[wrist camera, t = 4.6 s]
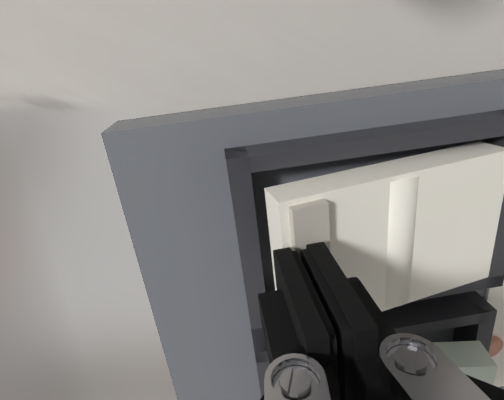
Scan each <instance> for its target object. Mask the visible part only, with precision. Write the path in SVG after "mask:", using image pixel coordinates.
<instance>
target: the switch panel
mask: <svg viewBox="0 0 504 400" xmlns="http://www.w3.org/2000/svg"><path fill="white" fill-rule="evenodd" d="M101 135H102V138H103V142H104V145H105V149H106V152H107V156H108V159H109V162H110V166H111V169H112V173H113V176H114V180H115V183H116V187H117V190H118V194H119V197H120V200H121V204H122V208H123V211H124V215H125V218H126V221H127V225H128V228H129V232H130V235H131V239H132V242H133V246H134V249H135V253H136V256H137V259H138V263H139V267H140V270H141V274H142V277H143V281H144V284H145V287H146V291H147V294H148V298H149V301H150V305H151V308H152V312H153V315H154V319H155V322H156V326H157V329H158V333H159V336H160V340H161V343H162V347H163V350H164V353H165V357H166V360H167V364H168V367H169V371H170V374H171V378H172V381H173V385H174V388H175V392H176V395H177V399H178V400H260V399H261V397H262V396H263V395H264V378H265V372H266V370H267V368H268V366H269V365H270V363H269V359H268V354H267V349H266V344H265V340H264V334H263V329H262V323H261V317H260V310H259V302H258V294H259V293H265V292H270V291H275V284H274V274H273V265H272V256H271V246H270V237H269V228H268V219H267V209H266V200H265V191H264V188H267V187H271V186H276V185H281V184H285V183H290V182H294V181H299V180H303V179H308V178H313V177H317V176H322V175H326V174H331V173H336V172H340V171H345V170H349V169H354V168H359V167H363V166H368V165H372V164H377V163H381V162H386V161H391V160H395V159H400V158H404V157H409V156H414V155H418V154H423V153H427V152H432V151H437V150H441V149H446V148H450V147H455V146H459V145H464V144H469V143H473V142H478V141H480V142H484V143H488V144H492V145H497V146H501V147H504V69H501V70H494V71H487V72H479V73H472V74H464V75H457V76H449V77H442V78H434V79H427V80H419V81H412V82H404V83H397V84H390V85H382V86H375V87H367V88H360V89H352V90H345V91H337V92H330V93H322V94H315V95H307V96H300V97H293V98H285V99H278V100H270V101H263V102H255V103H248V104H240V105H233V106H225V107H218V108H211V109H203V110H196V111H188V112H181V113H173V114H166V115H158V116H151V117H143V118H136V119H129V120H121V121H117V122H116V123H114V124H113V125H112V126H110V127H109V128H108V129H106V130H105V131H104V132H102V133H101ZM382 313H383V314H384V316H385V317H386V319H387V320H388V322H389V323H390V325H391V326H392V327H393V329H394V330H395V332H396V333H397V334H398V333H410V334H414V335H418V336H421V337H423V338H425V339H427V340H429V341H430V342H457V341H480V342H481V343H482V345H483V346H484V347H485V349H486V350H487V352H488V353H489V355H490V356H491V358H492V359H493V360H494V362H495V363H496V365H497V371H496V375H495V380H494V384H493V385H494V386H496V387H499V388H501V389H504V196H503V201H502V207H501V212H500V217H499V223H498V228H497V233H496V239H495V244H494V249H493V255H492V260H491V265H490V271H489V276H488V277H487V278H484V279H481V280H478V281H475V282H472V283H469V284H465V285H462V286H459V287H456V288H453V289H450V290H447V291H444V292H441V293H438V294H435V295H432V296H428V297H425V298H422V299H419V300H416V301H413V302H410V303H407V304H404V305H401V306H398V307H394V308H391V309H388V310H385V311H382Z"/></svg>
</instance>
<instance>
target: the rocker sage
mask: <svg viewBox="0 0 504 400" xmlns="http://www.w3.org/2000/svg"><path fill="white" fill-rule="evenodd" d="M432 343H433V344H434V345H436V346H437V347H438V348H439V349H440V350H441V351H442V352H443V353H444V354H445V355H446V356H447V357H448V358H449V359H450V360H451V361H452V362H453V363H454V364H455V365H456V366H457V367H458V368H459V369H460V370H461V371H462V372H463V373H464V374H466V375H469V376H471V377H474V378H476V379H479V380H481V381H484V382H486V383H489V384H491V385H493V384H494V380H495V375H496V371H497V365H496V363H495V362H494V360H493V359H492V358H491V356H490V355H489V353H488V352H487V350H486V349H485V347H484V346H483V345H482V343H481V342H480V341H457V342H432Z"/></svg>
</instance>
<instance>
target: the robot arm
mask: <svg viewBox="0 0 504 400" xmlns="http://www.w3.org/2000/svg"><path fill="white" fill-rule="evenodd" d="M273 258H274V268H275V277H276V287H277V290H276V291H270V292H265V293H259V294H258V302H259V310H260V317H261V323H262V329H263V334H264V340H265V344H266V349H267V354H268V359H269V363H270V365H269V366H268V368H267V370H266V372H265V378H264V395H263V396H262V397H261V399H260V400H504V389H501V388H499V387H496V386H494V385H491V384H489V383H486V382H484V381H481V380H479V379H476V378H474V377H471V376H469V375H466V374H464V373H463V372H462V371H461V370H460V369H459V368H458V367H457V366H456V365H455V364H454V363H453V362H452V361H451V360H450V359H449V358H448V357H447V356H446V355H445V354H444V353H443V352H442V351H441V350H440V349H439V348H438V347H437V346H436V345H434V344H433V343H432V342H430V341H429V340H427V339H425V338H423V337H421V336H418V335H414V334H410V333H398V334H397V333H396V332H395V330H394V329H393V327H392V326H391V325H390V323H389V322H388V320H387V319H386V317H385V316H384V314H383V313H382V311H381V310H380V309H379V307H378V306H377V304H376V303H375V301H374V300H373V298H372V297H371V296H370V294H369V293H368V291H367V290H366V288H365V287H364V285H363V284H362V282H361V281H360V280H359V279H358V278H357V277H351V278H347V277H346V276H345V274H344V273H343V271H342V270H341V268H340V266H339V265H338V263H337V262H336V260H335V259H334V257H333V255H332V254H331V252H330V251H329V249H328V248H327V246H326V244H325V243H324V242H318V243H312V244H307V245H306V249H303V250H301V258H300V256H299V254H298V252H297V251H291V249H290V247H288V248H282V249H276V250H273Z"/></svg>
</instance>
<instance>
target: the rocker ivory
mask: <svg viewBox="0 0 504 400" xmlns="http://www.w3.org/2000/svg"><path fill="white" fill-rule="evenodd" d="M264 191H265V200H266V209H267V219H268V228H269V237H270V246H271V256H272V265H273V274H274V284H275V291H276V290H277V287H276V277H275V268H274V258H273V250H276V249H282V248H288V247H290V249H291V251H297V252H298V254H299V256H300V258H301V250H303V249H306V245H307V244H312V243H318V242H324V243H325V244H326V246H327V248H328V249H329V251H330V252H331V254H332V255H333V257H334V259H335V260H336V262H337V263H338V265H339V266H340V268H341V270H342V271H343V273H344V274H345V276H346V277H347V278H351V277H357V278H358V279H359V280H360V281H361V282H362V284H363V285H364V287H365V288H366V290H367V291H368V293H369V294H370V296H371V297H372V298H373V300H374V301H375V303H376V304H377V306H378V307H379V309H380V310H381V311H385V310H388V309H391V308H394V307H398V306H401V305H404V304H407V303H410V302H413V301H416V300H419V299H422V298H425V297H428V296H432V295H435V294H438V293H441V292H444V291H447V290H450V289H453V288H456V287H459V286H462V285H465V284H469V283H472V282H475V281H478V280H481V279H484V278H487V277H488V276H489V271H490V265H491V260H492V255H493V249H494V244H495V239H496V233H497V228H498V223H499V217H500V212H501V207H502V201H503V196H504V147H501V146H497V145H492V144H488V143H484V142H480V141H478V142H473V143H469V144H464V145H459V146H455V147H450V148H446V149H441V150H437V151H432V152H427V153H423V154H418V155H414V156H409V157H404V158H400V159H395V160H391V161H386V162H381V163H377V164H372V165H368V166H363V167H359V168H354V169H349V170H345V171H340V172H336V173H331V174H326V175H322V176H317V177H313V178H308V179H303V180H299V181H294V182H290V183H285V184H281V185H276V186H271V187H267V188H264Z"/></svg>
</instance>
